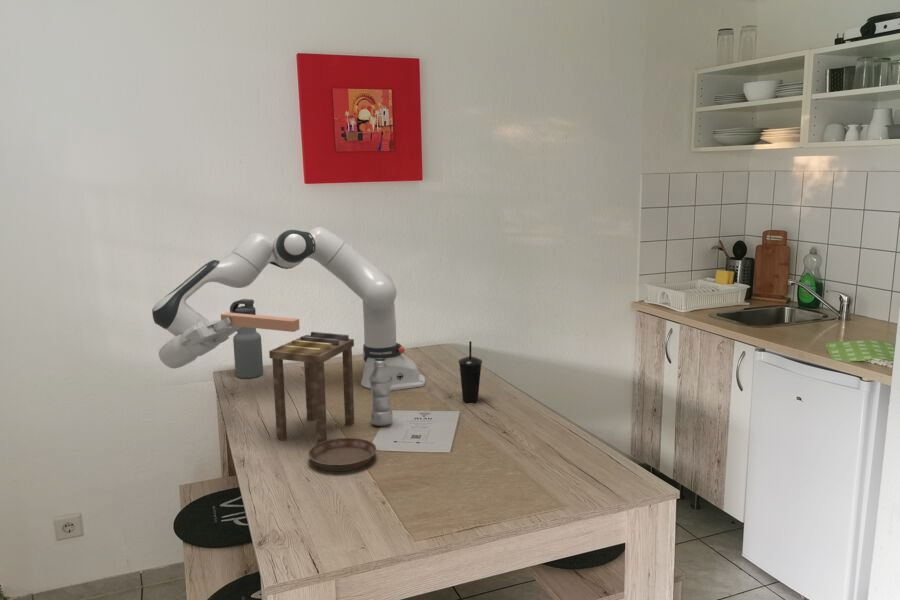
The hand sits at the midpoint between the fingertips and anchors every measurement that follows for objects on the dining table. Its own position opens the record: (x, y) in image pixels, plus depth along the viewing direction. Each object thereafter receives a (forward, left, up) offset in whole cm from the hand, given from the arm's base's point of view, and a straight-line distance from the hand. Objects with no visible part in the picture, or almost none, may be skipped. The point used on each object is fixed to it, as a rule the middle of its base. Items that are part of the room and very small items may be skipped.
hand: (235, 318), depth 201 cm
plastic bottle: (-41, +5, -33) cm, 53 cm away
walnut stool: (-22, +7, -33) cm, 40 cm away
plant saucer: (-29, +28, -34) cm, 53 cm away
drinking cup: (-71, -10, -33) cm, 79 cm away
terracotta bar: (-7, +4, -2) cm, 8 cm away
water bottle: (+3, -53, -33) cm, 62 cm away
